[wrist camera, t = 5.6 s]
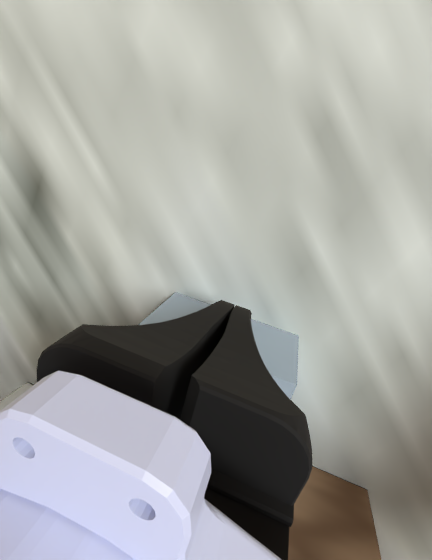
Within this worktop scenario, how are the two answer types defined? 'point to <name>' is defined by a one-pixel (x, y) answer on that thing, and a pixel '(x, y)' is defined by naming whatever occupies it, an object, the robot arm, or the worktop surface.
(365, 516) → the walnut board
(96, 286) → the worktop surface
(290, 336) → the slate block
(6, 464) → the robot arm
